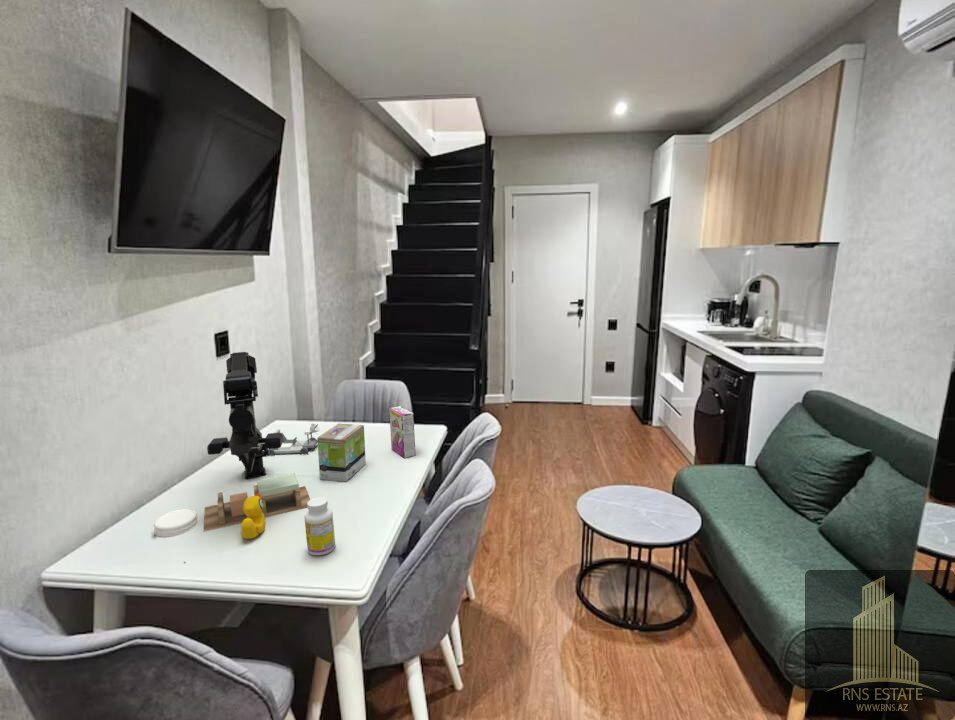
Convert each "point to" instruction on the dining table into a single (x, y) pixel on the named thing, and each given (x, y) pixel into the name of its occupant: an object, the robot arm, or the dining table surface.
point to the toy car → (296, 443)
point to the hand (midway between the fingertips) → (249, 471)
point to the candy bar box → (402, 431)
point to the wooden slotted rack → (271, 506)
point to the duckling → (253, 517)
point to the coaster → (175, 522)
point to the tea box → (341, 452)
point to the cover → (277, 484)
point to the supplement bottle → (319, 527)
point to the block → (237, 503)
